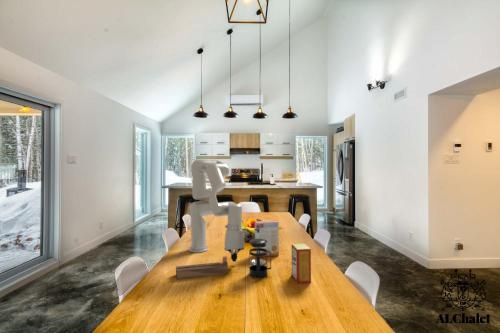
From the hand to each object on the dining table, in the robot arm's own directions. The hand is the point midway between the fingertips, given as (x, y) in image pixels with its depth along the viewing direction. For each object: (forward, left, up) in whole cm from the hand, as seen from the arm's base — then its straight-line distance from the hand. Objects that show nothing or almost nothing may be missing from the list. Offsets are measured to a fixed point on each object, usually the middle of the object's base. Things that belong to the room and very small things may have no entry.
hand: (234, 260), depth 141 cm
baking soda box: (+23, +28, -4) cm, 37 cm away
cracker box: (-14, +23, -4) cm, 27 cm away
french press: (+13, +10, -4) cm, 17 cm away
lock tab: (+1, -8, -3) cm, 8 cm away
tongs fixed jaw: (+6, -17, -3) cm, 18 cm away
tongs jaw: (+3, -19, -3) cm, 20 cm away
